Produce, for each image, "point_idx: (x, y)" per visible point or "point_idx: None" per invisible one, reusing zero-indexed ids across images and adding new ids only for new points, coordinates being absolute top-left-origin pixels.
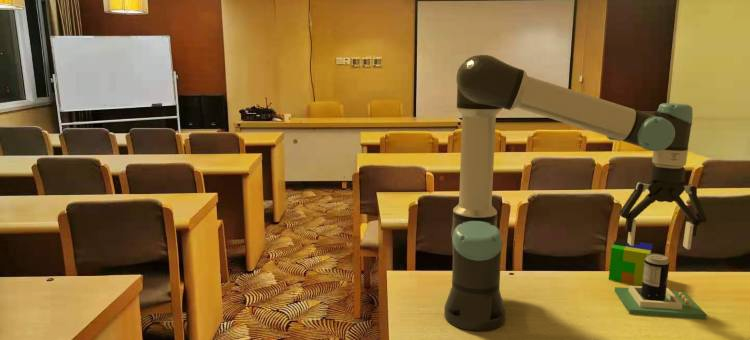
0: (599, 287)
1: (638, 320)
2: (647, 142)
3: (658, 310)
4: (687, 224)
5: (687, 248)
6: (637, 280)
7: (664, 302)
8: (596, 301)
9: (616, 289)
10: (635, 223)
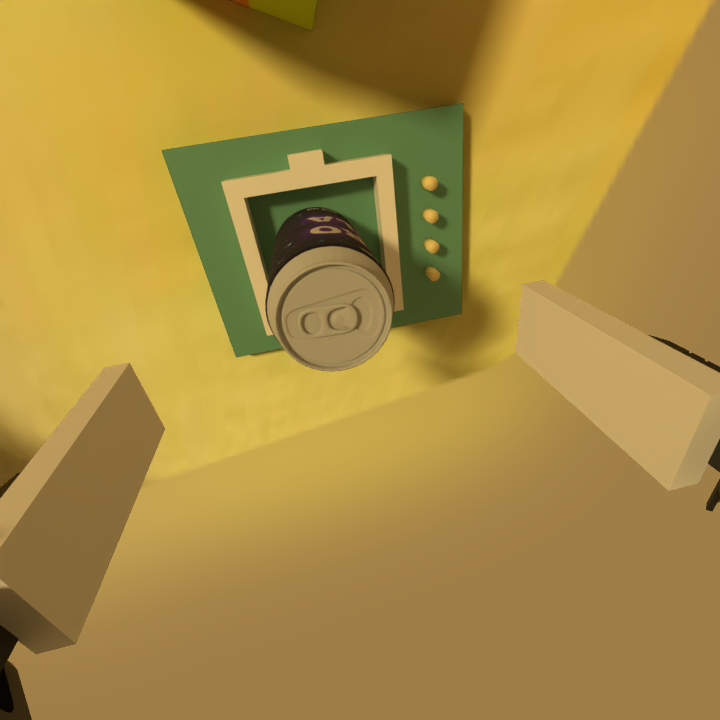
0: (89, 117)
1: (264, 381)
2: None
3: None
4: (674, 419)
5: (520, 354)
6: (266, 6)
7: None
8: (116, 289)
9: (172, 179)
10: (79, 616)
